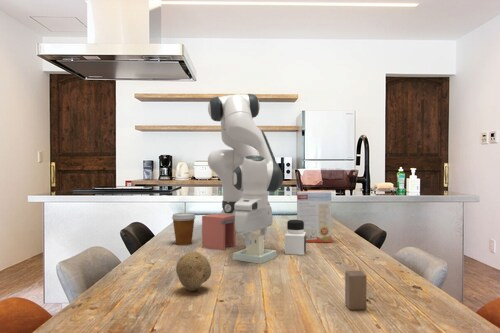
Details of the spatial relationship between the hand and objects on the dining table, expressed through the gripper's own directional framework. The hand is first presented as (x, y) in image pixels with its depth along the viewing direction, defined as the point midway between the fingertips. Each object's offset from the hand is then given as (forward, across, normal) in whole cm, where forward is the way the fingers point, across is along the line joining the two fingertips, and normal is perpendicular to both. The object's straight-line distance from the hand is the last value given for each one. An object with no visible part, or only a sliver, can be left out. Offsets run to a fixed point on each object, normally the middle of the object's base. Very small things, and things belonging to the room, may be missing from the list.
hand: (255, 242), depth 142 cm
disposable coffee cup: (+6, -7, -37) cm, 38 cm away
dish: (+5, 0, 0) cm, 5 cm away
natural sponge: (+6, +38, +4) cm, 39 cm away
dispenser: (+6, -9, -21) cm, 24 cm away
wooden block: (+5, +29, +44) cm, 53 cm away
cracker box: (+6, -38, +7) cm, 39 cm away
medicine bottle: (+6, -15, +9) cm, 18 cm away
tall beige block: (+4, 0, 0) cm, 4 cm away
